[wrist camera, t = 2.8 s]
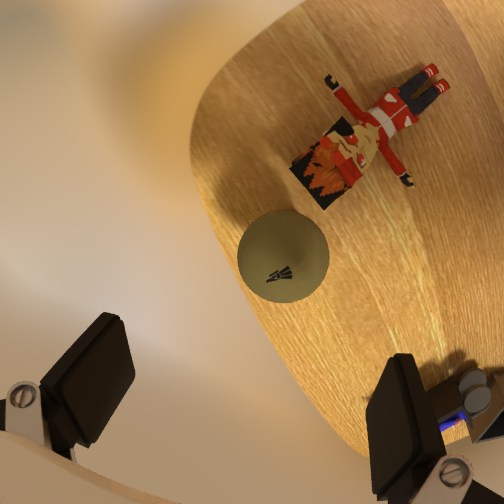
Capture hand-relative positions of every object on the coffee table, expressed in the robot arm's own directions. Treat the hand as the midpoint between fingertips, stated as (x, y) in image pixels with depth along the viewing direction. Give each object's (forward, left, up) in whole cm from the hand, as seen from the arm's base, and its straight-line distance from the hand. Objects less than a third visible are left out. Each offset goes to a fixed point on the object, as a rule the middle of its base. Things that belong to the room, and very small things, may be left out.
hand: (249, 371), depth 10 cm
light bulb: (0, 0, -17) cm, 17 cm away
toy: (-6, -9, -17) cm, 20 cm away
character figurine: (-21, +20, -17) cm, 33 cm away
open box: (-33, +20, -17) cm, 43 cm away
